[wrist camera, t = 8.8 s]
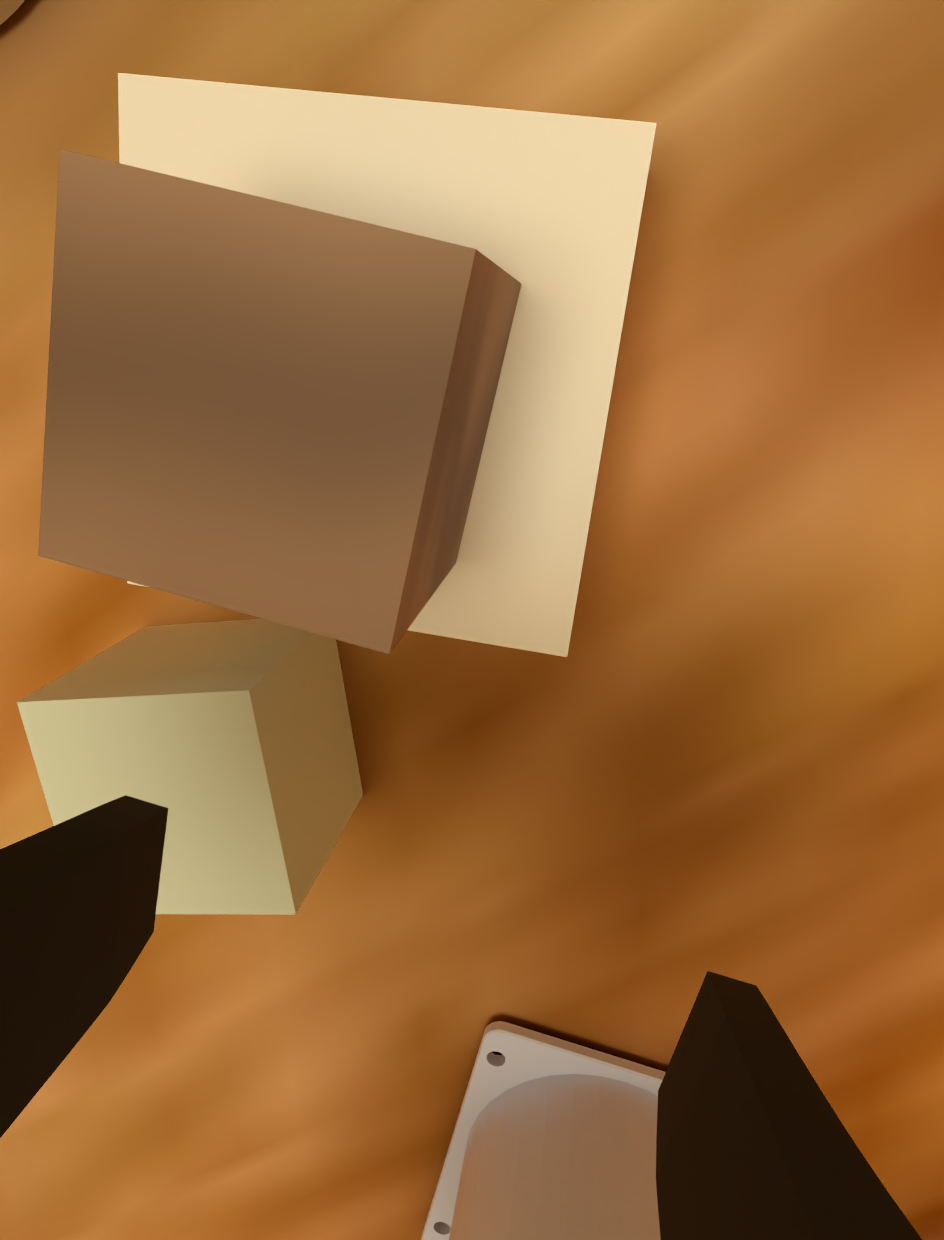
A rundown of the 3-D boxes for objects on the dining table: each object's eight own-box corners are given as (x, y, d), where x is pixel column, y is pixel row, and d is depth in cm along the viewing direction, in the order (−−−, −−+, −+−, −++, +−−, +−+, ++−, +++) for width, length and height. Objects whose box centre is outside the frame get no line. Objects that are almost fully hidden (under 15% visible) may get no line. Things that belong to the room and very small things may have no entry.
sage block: (363, 793, 22) (295, 914, 17) (190, 797, 23) (79, 913, 18) (332, 612, 20) (249, 690, 16) (148, 625, 21) (17, 702, 17)
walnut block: (456, 563, 16) (389, 654, 11) (206, 495, 16) (38, 556, 11) (521, 283, 14) (475, 248, 9) (241, 215, 14) (59, 148, 10)
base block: (575, 598, 20) (567, 657, 16) (216, 541, 21) (127, 583, 17) (646, 174, 17) (656, 122, 13) (223, 132, 18) (117, 73, 14)
